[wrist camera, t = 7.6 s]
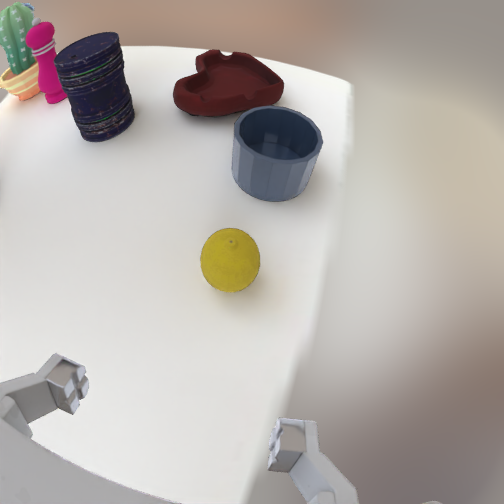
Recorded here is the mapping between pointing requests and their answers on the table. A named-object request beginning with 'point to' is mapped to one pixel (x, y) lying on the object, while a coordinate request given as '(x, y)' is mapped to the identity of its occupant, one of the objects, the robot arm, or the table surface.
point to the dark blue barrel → (96, 86)
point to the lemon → (230, 260)
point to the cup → (274, 152)
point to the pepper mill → (45, 59)
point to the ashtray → (227, 85)
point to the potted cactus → (18, 51)
